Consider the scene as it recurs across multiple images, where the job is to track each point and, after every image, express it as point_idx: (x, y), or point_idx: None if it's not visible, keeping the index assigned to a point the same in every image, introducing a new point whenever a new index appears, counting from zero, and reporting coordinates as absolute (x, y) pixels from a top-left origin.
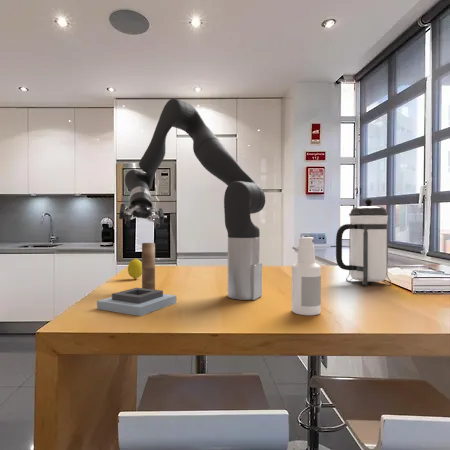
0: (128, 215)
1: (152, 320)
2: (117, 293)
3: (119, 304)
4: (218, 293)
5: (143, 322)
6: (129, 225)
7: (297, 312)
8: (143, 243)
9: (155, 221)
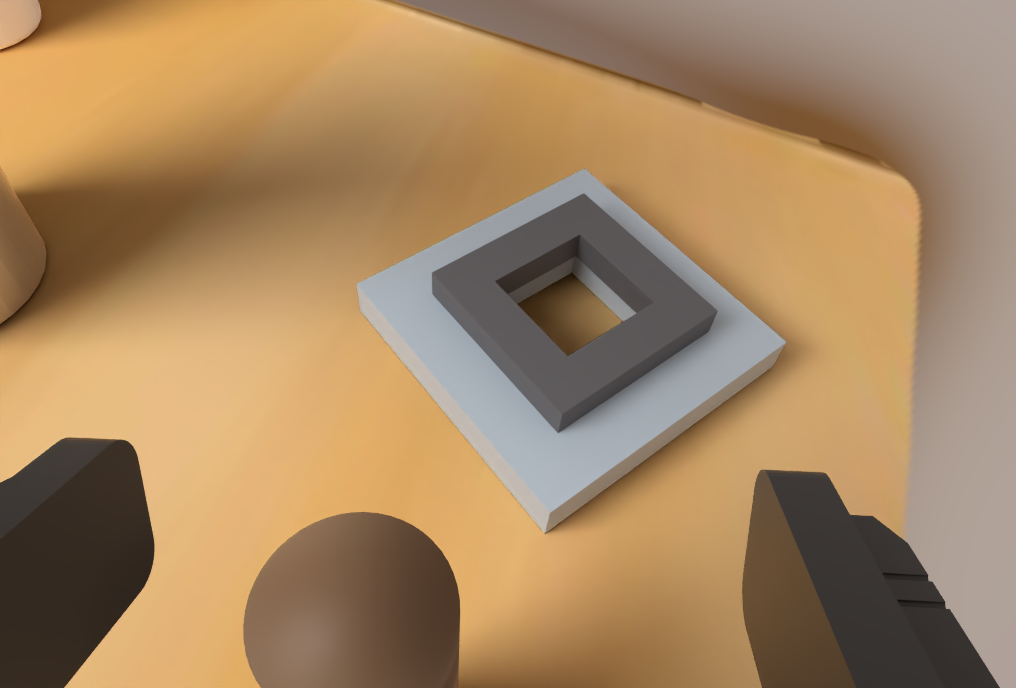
0: (912, 657)
1: (546, 143)
2: (688, 306)
3: (670, 242)
4: None
5: (581, 138)
6: (749, 566)
7: (40, 12)
8: (448, 565)
9: (51, 505)
